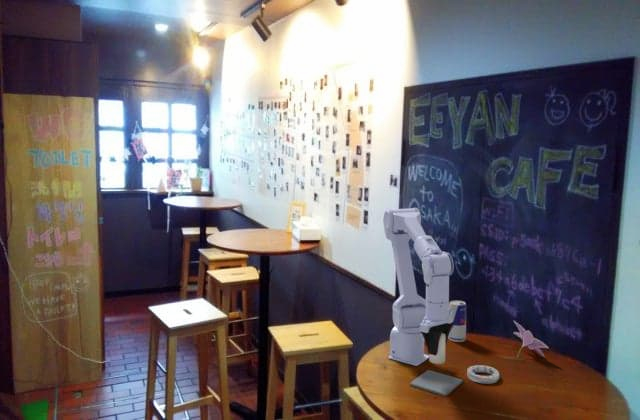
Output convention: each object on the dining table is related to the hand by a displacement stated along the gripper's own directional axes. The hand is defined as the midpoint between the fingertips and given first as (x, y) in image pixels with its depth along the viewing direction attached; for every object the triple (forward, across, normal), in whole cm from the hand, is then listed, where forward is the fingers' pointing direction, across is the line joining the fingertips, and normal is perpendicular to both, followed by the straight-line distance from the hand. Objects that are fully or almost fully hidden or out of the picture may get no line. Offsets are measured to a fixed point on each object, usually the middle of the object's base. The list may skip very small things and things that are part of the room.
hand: (436, 351), depth 135 cm
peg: (+2, 0, 0) cm, 2 cm away
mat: (+9, 0, 0) cm, 9 cm away
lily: (+9, +33, -13) cm, 36 cm away
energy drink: (+9, +32, +9) cm, 34 cm away
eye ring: (+9, +11, -8) cm, 16 cm away
